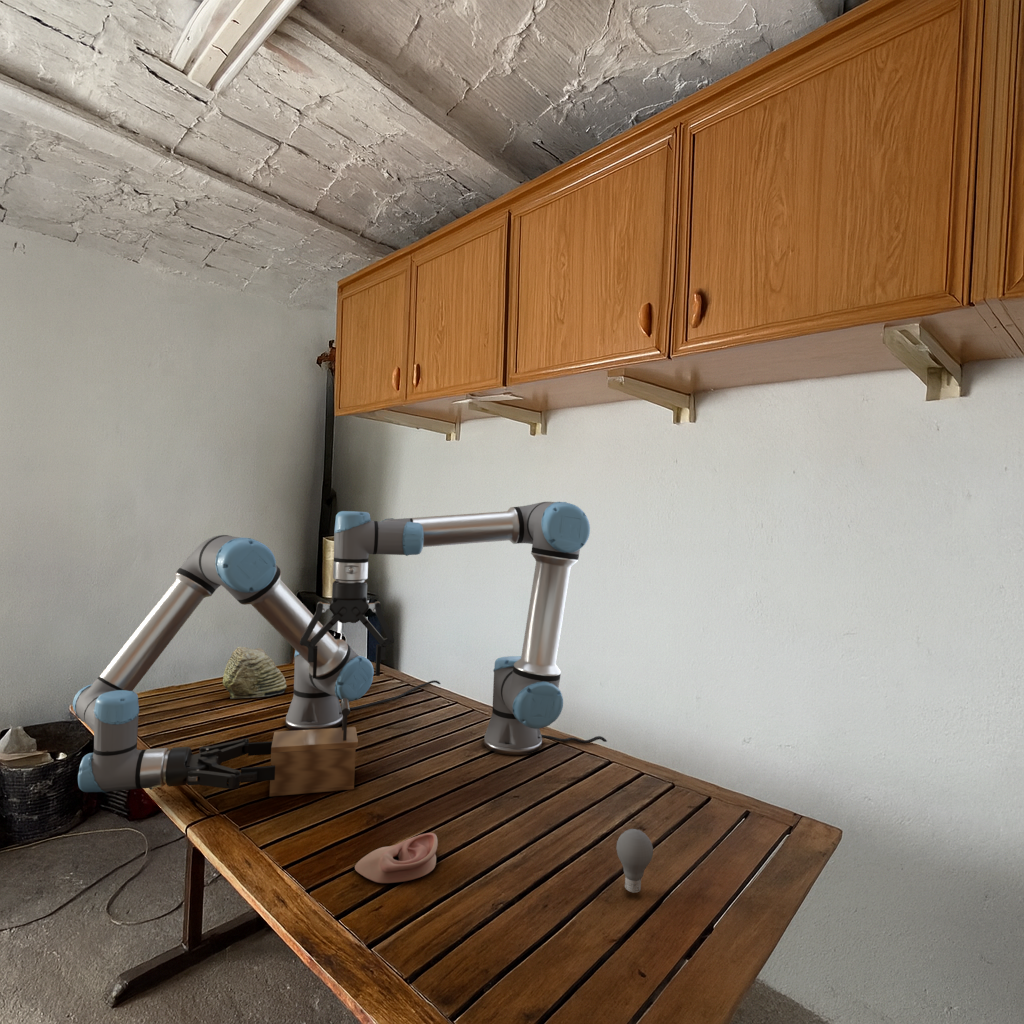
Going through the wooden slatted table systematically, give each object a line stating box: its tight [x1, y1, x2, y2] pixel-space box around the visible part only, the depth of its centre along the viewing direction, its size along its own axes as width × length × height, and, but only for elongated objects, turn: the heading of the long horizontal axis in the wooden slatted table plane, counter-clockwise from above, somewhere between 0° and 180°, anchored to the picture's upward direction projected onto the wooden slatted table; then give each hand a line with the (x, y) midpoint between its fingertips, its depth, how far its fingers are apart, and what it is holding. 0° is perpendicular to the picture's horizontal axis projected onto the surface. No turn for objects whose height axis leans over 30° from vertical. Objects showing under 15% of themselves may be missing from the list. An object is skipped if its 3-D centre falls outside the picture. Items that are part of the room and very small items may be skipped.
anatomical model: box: [354, 832, 439, 884], centre depth 110 cm, size 13×4×12 cm
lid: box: [271, 698, 359, 753], centre depth 140 cm, size 18×9×8 cm, turn 107°
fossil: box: [222, 646, 288, 699], centre depth 198 cm, size 9×18×15 cm, turn 132°
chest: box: [269, 747, 357, 797], centre depth 140 cm, size 17×9×9 cm, turn 107°
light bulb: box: [615, 828, 654, 894], centre depth 106 cm, size 6×6×10 cm
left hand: (277, 759), depth 137 cm, fingers open, 13 cm apart
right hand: (346, 675), depth 141 cm, fingers open, 13 cm apart
